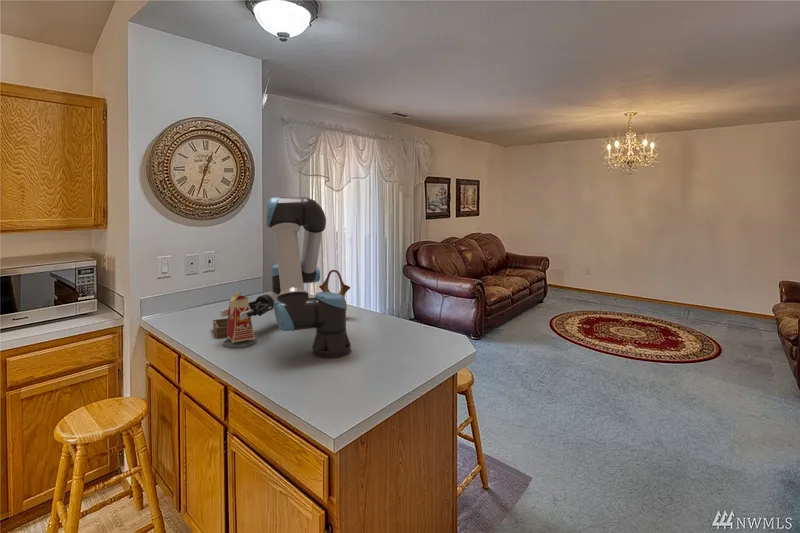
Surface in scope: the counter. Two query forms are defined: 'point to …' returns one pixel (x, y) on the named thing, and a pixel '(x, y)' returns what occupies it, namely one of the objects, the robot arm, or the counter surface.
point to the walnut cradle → (220, 327)
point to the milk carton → (237, 327)
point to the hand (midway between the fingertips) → (230, 315)
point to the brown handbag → (343, 287)
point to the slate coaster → (239, 343)
